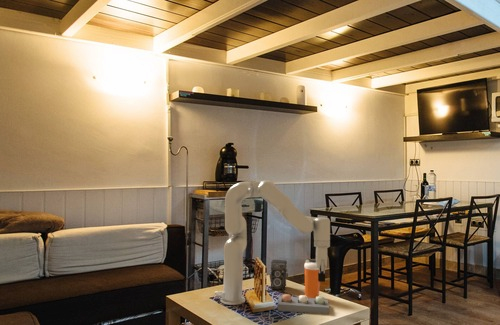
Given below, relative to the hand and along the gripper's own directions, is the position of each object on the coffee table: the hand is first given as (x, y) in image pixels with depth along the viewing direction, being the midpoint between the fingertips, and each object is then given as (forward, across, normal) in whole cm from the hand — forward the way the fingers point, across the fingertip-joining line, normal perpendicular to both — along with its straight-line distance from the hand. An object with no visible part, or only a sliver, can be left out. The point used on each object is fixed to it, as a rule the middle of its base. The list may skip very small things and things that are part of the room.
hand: (321, 281), depth 197 cm
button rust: (+11, 0, -17) cm, 20 cm away
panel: (+13, 0, -9) cm, 16 cm away
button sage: (+11, 0, -1) cm, 11 cm away
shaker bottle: (+14, -16, -4) cm, 21 cm away
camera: (+13, -28, -22) cm, 38 cm away
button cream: (+11, 0, -9) cm, 14 cm away
